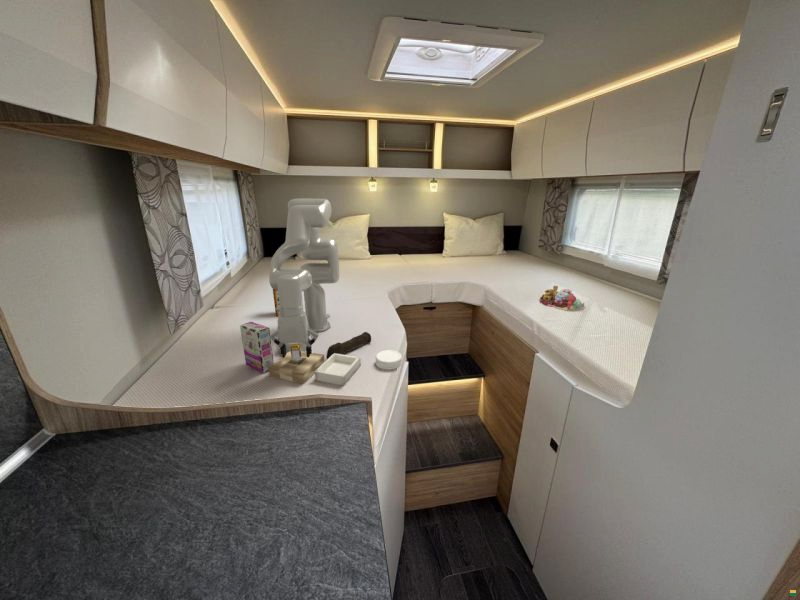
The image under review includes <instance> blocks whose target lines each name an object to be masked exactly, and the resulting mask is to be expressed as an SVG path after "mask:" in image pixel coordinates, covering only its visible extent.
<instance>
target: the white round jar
mask: <svg viewBox="0 0 800 600" xmlns="http://www.w3.org/2000/svg"><path fill="white" fill-rule="evenodd" d="M402 358H403V356H402V354H401V353H400V352H399V351H396V350H393V349H386V350H381V351H379V352H378V353H376V355H375V365H376V366H377V368H379V369H381V370H385V371H388V370H389V371H393V370H396V369H398V368H400V367H401V366H402V364H403V361H402V360H403V359H402Z"/></svg>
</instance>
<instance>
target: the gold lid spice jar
mask: <svg viewBox="0 0 800 600" xmlns="http://www.w3.org/2000/svg"><path fill="white" fill-rule="evenodd" d="M290 348H291V357H292V364H297V365H300V364H301V363H302V362H303V361H302V351H301V344H298V343H296V344H292V345H291V346H290Z"/></svg>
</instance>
